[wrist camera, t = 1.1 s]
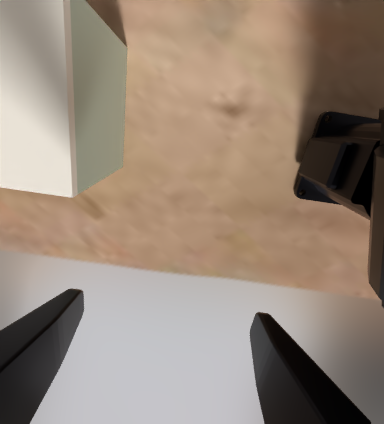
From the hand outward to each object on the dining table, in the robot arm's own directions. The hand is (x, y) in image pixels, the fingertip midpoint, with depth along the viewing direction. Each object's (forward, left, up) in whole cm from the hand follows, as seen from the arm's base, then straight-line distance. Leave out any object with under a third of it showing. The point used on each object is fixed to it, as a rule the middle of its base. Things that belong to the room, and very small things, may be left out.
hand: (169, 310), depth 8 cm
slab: (+7, -6, -12) cm, 15 cm away
